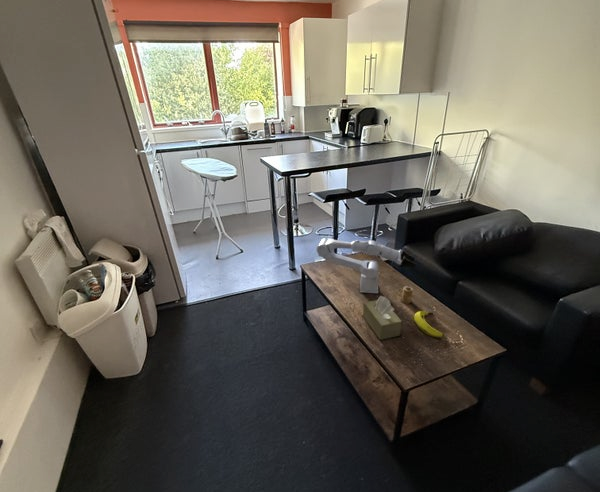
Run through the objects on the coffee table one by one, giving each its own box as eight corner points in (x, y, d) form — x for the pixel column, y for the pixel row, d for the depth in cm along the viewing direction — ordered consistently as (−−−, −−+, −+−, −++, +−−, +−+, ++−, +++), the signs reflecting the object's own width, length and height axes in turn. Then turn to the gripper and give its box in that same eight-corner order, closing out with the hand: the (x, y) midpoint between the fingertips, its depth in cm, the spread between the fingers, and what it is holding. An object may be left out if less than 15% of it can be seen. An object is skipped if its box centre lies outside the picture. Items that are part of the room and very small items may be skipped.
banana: (436, 334, 135) (459, 327, 142) (407, 311, 148) (429, 306, 155) (433, 343, 137) (455, 335, 144) (404, 319, 150) (426, 313, 157)
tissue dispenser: (400, 336, 141) (405, 307, 133) (380, 340, 139) (383, 311, 131) (380, 311, 157) (383, 284, 149) (362, 315, 155) (364, 288, 147)
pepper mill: (401, 303, 163) (404, 289, 159) (401, 298, 167) (403, 284, 162) (411, 303, 162) (413, 289, 158) (410, 298, 166) (412, 284, 162)
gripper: (392, 251, 154) (419, 261, 152) (391, 242, 166) (416, 251, 165) (386, 264, 157) (413, 273, 155) (386, 254, 170) (411, 262, 168)
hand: (414, 262), depth 160 cm, fingers open, 7 cm apart
